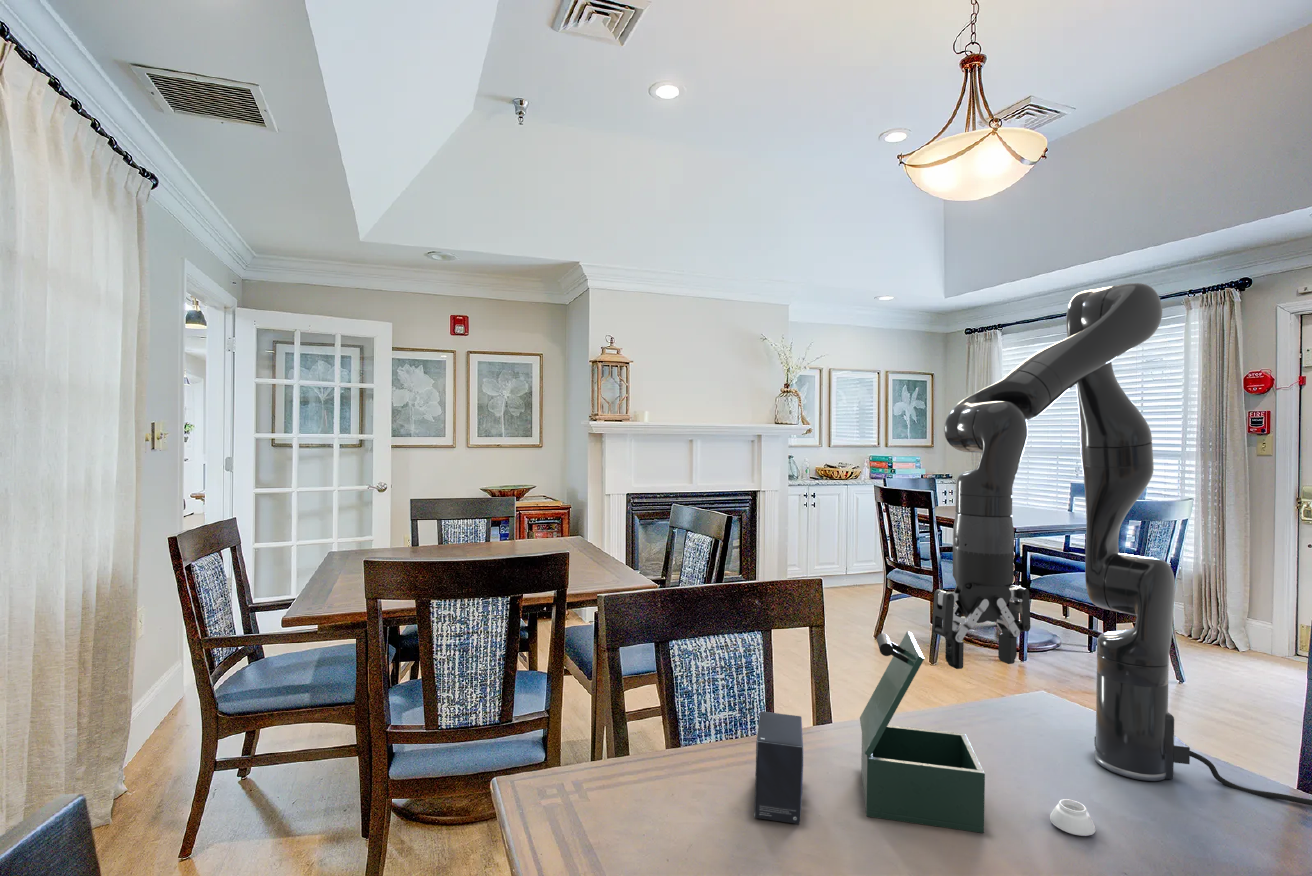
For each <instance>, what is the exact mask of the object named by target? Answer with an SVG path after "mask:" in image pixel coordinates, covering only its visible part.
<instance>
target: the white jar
mask: <svg viewBox="0 0 1312 876" xmlns="http://www.w3.org/2000/svg"><path fill="white" fill-rule="evenodd" d="M1090 815H1091V814H1090V813H1089V812H1088V809H1087V807H1086V806H1085V805H1084V804H1083V803H1082V802H1079V801H1076V800H1074V799H1068V798H1062V799H1060V800H1059V802H1058V804H1056V806H1054V808H1053V810H1052V811H1051V813H1050V815H1049V820H1050V822H1051V823H1052V824H1053V826H1055V827H1056V828H1058V829H1060V831H1063V832H1065V833H1068V834H1070V835H1073V836H1078V837H1079V836H1081V837H1088V836H1093V835H1094V834H1095V833H1096V826H1095V823H1094V821H1093V819H1092V817H1091V816H1090Z"/></svg>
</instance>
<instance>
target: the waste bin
mask: <svg viewBox="0 0 1312 876" xmlns="http://www.w3.org/2000/svg"><path fill="white" fill-rule="evenodd" d="M860 756H861V757H860V758H861V761H860V763H861V766H860V774H861V782H862V783H861V784H862V791H863V798H864V809H865V815H866V817H868V818H876V819H884V820H890V821H898V822H904V823H909V824H910V823H911V824H918V825H923V826H925V825H926V826H930V827H938V828H946V829H952V830H961V831H966V832H974V833H980V834H985V794H986V793H985V792H986V791H985V790H986V789H985V787H986V773H985V771H984V769H983V767H982V765H981V763H980V761H979V759H978V757H977V755H976V752H975V751H974V748H973V747H972V744H971V742H970V741H969V739H968V735H967V734H966V733H962V732H955V731H953V732H952V731H944V730H934V729H926V728H917V727H909V726H900V725H890V724H888V726H887V727H886V729H885V731H884V733H883V735H882V736H881V738H880V740H879V742H878V744H877V745H876V747H875V749H874V751H873V753H872V754H871V756H870V757H869V756H868V755H866V754H865V752H864V745H863V738H862V737H861V755H860Z"/></svg>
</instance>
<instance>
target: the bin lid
mask: <svg viewBox="0 0 1312 876" xmlns="http://www.w3.org/2000/svg"><path fill="white" fill-rule="evenodd" d="M876 642H877V646H878V649H879V653H880V654H881V655H882V656H884V657H891V656H892V658H891V660H890V661H889V663H888V665H887V667H886V669H885V671H884V673H883V674H882V676H881V678H880V680H879V682H878V683H877V685H876V687H875V689H874V691H873V693H872V694H871V696H870V698H869V700H868V701H867V703H866V705H865V707H864V709H863V711H862V713H861V715H860V716H859V722H860V729H861V739H862V738H863V745H864V752H865V754H866V755H868V756H869V757H870V756H871V754H872V753H873V751H874V749H875V747H876V745H877V744H878V742H879V740H880V738H881V736H882V735H883V733H884V731H885V729H886V727H887V726H888V725H890V722H891V720H892V718H893V717H894V715H895V713H896V711H897V710H898V708H899V705H900V704H901V702H902V700H903V699H904V696H905V695H906V693H907V691H908V690H909V688H910V686H911V684H912V683H913V681H914V679H915V677H916V676H917V673H918V672H919V670H920V668H921V666H922V664H923V662H924V661H925V657H924V655H923V653H922V651H921V649H920V647H919V645H918V643H917V641H916V639H915V636H914V634H913V632H911V631H908V630H907V631H906V632H905V634H904V636H903V638H902V640H901V642H900V644H899V645H898V644H897V643H895V642H893V641H891V639H890V636H889V635H888V634H886V633H883V632H882V633H879V634H878V635H877V636H876Z"/></svg>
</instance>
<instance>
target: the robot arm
mask: <svg viewBox="0 0 1312 876" xmlns="http://www.w3.org/2000/svg"><path fill="white" fill-rule="evenodd" d="M1162 318H1163V305H1162V300H1161V298H1160V295H1159V294H1158V292H1157V291H1156V289H1154V288H1153V287H1152V286H1150V285H1149V284H1146V283H1142V282H1141V283H1140V282H1127V283H1121V284H1115V285H1110V286H1103V287H1100V288H1099V287H1098V288H1094V289H1093V288H1092V289H1088V290H1083V291H1080V292H1077V293H1076V294H1075V295H1074V296H1073V297H1072V298H1071V300H1070V301H1069V303H1068V305H1067V309H1066V316H1065V324H1066V326H1065V327H1066V328H1065V329H1066V336H1067V337H1066V338H1064V339H1062V340H1059V341H1056V342H1055V343H1053V344H1051V345H1048V346H1047V347H1045V348H1043V349H1040V350H1039V351H1036V352H1035V353H1033V354H1032V355H1030V356H1028V357H1027V358H1026V359H1024V360H1023V361H1022V362H1021V363H1019V364H1018V365H1017V366H1015V367H1014V368H1013V369H1011V370H1010V371H1009V372H1008V373H1007V374H1006V375H1004V377H1002V378H1001V379H1000V380H998V381H996V382H995V383H993V384H991V385H988V386H986V387H983V388H982V389H980V390H978V391H976V392H975V393H972V394H971V395H968V396H967V397H966V398H964V399H962V400H961V401H959V402H958V403H957V404H955V405H954V406H953V407H952V408H951V410H950V411H949V412H948V414H947V416H946V418H945V420H944V424H943V434H944V437H945V440H946V442H947V444H949V446H951V447H952V448H953V449H955V450H957V451H960V452H963V453H981V456H980V459H979V462H978V463H977V467H976V468H974V469H970V470H965V471H962V472H961V473H959V474H958V476H957V477H956V481H955V515H954V520H953V521H954V522H953V528H952V577H953V579H954V581H955V588H954V590H953V591H945V590H941V589H936V590H935V591H934V593H933V594H934V595H933V609H932V610H933V611H932V625H931V626H932V627H931V631H932V632H933V633H934V634H936V635H939V636H941V637H943V638H944V639H945V654H944V656H945V661H946V663H947V664H948V666H949V667H951V668H954V669H956V670H962V669H963V668H964V648H965V647H964V644H965V643H964V641H963V640H964V639H965V637H966V635H967V633H968V631H970V630H972V629H974V628H975V626H976V624H982V623H983V624H984V623H985V622H991V623H995V625H996V626H997V628H998V630H999V631H1000V632H1001V633H998V647H997V649H998V650H997V652H998V653H997V654H998V655H997V657H998V660H999V661H1000V662H1001V663H1005V664H1007V665H1013V664H1015V662H1016V659H1017V653H1018V652H1017V651H1018V650H1017V649H1018V647H1017V646H1018V643H1017V642H1018V637H1020V634H1021V633H1023V632H1027V633H1028V632H1030V629H1031V603H1030V599H1031V598H1030V590H1029V589H1028V588H1025V587H1022V586H1020V585H1019V586H1018V585H1014V584H1013V582H1014V571H1015V569H1014V566H1015V565H1014V562H1015V531H1014V530H1015V529H1014V523H1013V485H1014V483H1015V479H1016V477H1017V473H1018V470H1019V467H1020V463H1021V460H1022V457H1023V454H1024V452H1025V447H1026V444H1027V439H1028V432H1029V431H1028V430H1029V427H1028V422H1027V421H1030V420H1032V419H1034V418H1036V417H1038V416H1039V415H1041V414H1042V413H1043V412H1045V411H1046V410H1047V409H1048V408H1050V407H1051V406H1052V405H1053V404H1054V403H1055V402H1056V401H1057V400H1059V399H1060V398H1061V397H1062V396H1063V395H1064V394H1065V393H1066V392H1068V391H1069V390H1070V389H1071V388H1073V387H1074V386H1075V388H1076V396H1077V404H1078V417H1079V436H1080V437H1079V439H1080V456H1081V467H1082V477H1083V486H1084V487H1083V488H1084V499H1085V501H1084V502H1085V520H1086V521H1085V525H1086V526H1085V557H1084V558H1085V559H1084V567H1085V568H1084V571H1085V572H1084V579H1085V588H1086V592H1087V595H1088V598H1089V600H1090V602H1091V603H1092V604H1093V605H1094V606H1096V607H1097V608H1099V609H1100V608H1101V609H1103V610H1109V611H1112V612H1117V613H1122V614H1127V615H1132V616H1136V620H1135V625H1134V627H1133V628H1129V629H1125V630H1124V629H1123V630H1111V631H1106V632H1102V633H1100V634H1099V635H1098V637H1097V639H1096V682H1095V683H1096V688H1095V689H1096V690H1095V691H1096V694H1095V696H1096V697H1095V736H1094V749H1095V750H1094V760H1095V762H1096V763H1097V764H1098V765H1100V766H1101V767H1102V768H1104V769H1106V770H1108V771H1110V772H1112V773H1114V774H1117V775H1121V776H1123V777H1126V778H1129V779H1133V780H1134V779H1135V780H1140V781H1147V782H1157V781H1159V782H1160V781H1163V780H1174V776H1175V775H1174V773H1175V771H1174V768H1175V767H1174V766H1175V765H1174V764H1183V765H1190V762H1191V761H1190V760H1191V759H1190V758H1193V759H1195V760H1198V761H1200V762H1201V763H1202V764H1204V765H1205V766H1206V767H1208V768H1209V770H1210V773H1211V775H1212V776H1213V778H1214V779H1215V780H1216V781H1217V782H1218V783H1220V784H1222V785H1224V786H1226V787H1228V788H1231V789H1235V790H1238V791H1242V792H1245V793H1247V794H1248V793H1249V794H1252V795H1255V796H1258V797H1263V798H1267V799H1268V798H1269V799H1274V800H1281V801H1287V802H1292V803H1297V804H1301V805H1307V806H1310V807H1312V799H1310V798H1305V797H1301V796H1296V795H1290V794H1285V793H1279V792H1272V791H1265V790H1257V789H1252V788H1247V787H1244V786H1240V785H1237V784H1235V783H1234V782H1231V781H1230V780H1227V779H1226V778H1224V777H1222V776H1221V775H1220V774H1219V772H1218V770H1217V768H1216V766H1215V765H1214V764H1213V763H1212V761H1210V760H1209V759H1207V758H1206V757H1204V756H1203V755H1201V754H1199V753H1197V752H1194V751H1192V750H1191V748H1190V746H1189V745H1187V744H1186V743H1185V742H1184V741H1183V740H1181V739H1180V738H1179V737H1178V736H1177V735H1175V717H1174V715H1172V714H1171V713H1170V712H1169V670H1170V669H1169V668H1170V667H1169V664H1170V651H1171V646H1172V637H1173V619H1174V609H1175V596H1176V581H1175V575H1174V571H1173V569H1172V566H1170V564H1169V563H1168V562H1167V561H1165V560H1164V559H1159V558H1154V557H1149V556H1141V555H1134V554H1127V553H1120V550H1119V538H1120V530H1121V527H1122V524H1123V522H1124V520H1125V519H1126V516H1127V515H1128V513H1129V512H1130V510H1131V509H1132V507H1133V506H1134V505H1135V503H1136V502H1137V501H1138V499H1139V498H1140V497H1141V496H1142V494H1143V493H1144V491H1145V490H1146V488H1147V487H1148V485H1149V483H1150V482H1151V480H1152V477H1153V475H1154V470H1155V469H1154V452H1153V451H1154V450H1153V449H1154V447H1153V436H1152V431H1151V427H1150V426H1149V424H1148V422H1147V420H1146V419H1145V417H1144V416H1143V414H1142V413H1141V412H1140V410H1139V408H1138V407H1137V406H1136V405H1135V404H1134V402H1133V401H1132V400H1131V399H1130V397H1128V395H1127V394H1126V392H1125V391H1124V390H1123V388H1122V387H1121V385H1120V383H1119V381H1118V379H1117V377H1116V374H1115V371H1114V368H1113V363H1112V361H1114V360H1115V359H1116V358H1118V357H1120V356H1121V355H1123V354H1125V353H1127V352H1129V351H1130V350H1132V349H1134V348H1135V347H1138V346H1139V345H1141V344H1143V343H1144V342H1146V341H1147V340H1149V339H1150V338H1151V337H1152V336H1154V334H1155V333H1156V332H1157V330H1158V329H1159V327H1160V325H1161V321H1162ZM1007 605H1008V606H1007ZM962 616H963V617H964V618H963V617H962Z"/></svg>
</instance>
